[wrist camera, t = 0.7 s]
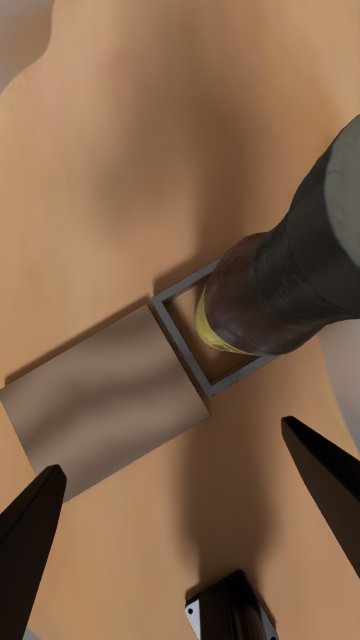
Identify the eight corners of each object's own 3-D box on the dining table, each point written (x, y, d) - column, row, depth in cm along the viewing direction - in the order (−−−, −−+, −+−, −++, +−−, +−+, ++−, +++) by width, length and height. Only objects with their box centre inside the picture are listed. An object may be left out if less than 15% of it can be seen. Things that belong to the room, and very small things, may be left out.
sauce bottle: (205, 358, 23) (307, 463, 3) (185, 303, 24) (170, 110, 4) (263, 337, 23) (730, 316, 3) (242, 283, 24) (519, -15, 4)
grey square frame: (298, 338, 23) (308, 338, 21) (206, 393, 23) (208, 398, 21) (241, 250, 24) (246, 242, 22) (153, 302, 24) (150, 298, 22)
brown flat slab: (209, 412, 22) (210, 415, 21) (58, 502, 22) (52, 510, 21) (147, 305, 24) (146, 303, 23) (4, 389, 24) (-4, 391, 23)
